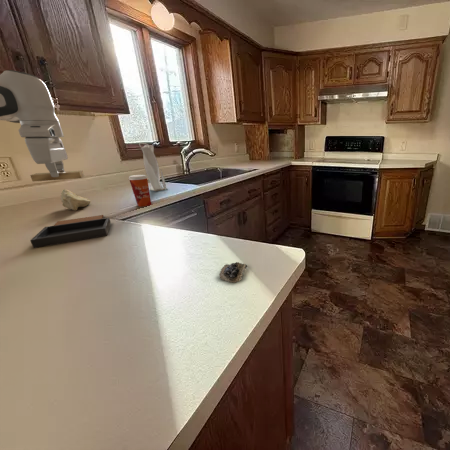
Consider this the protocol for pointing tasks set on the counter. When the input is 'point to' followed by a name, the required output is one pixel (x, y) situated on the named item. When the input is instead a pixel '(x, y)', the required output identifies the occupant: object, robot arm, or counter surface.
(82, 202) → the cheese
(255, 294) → the counter surface
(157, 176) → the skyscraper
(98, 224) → the tray
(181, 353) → the counter surface
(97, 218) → the brown flat block
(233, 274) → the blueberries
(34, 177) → the board
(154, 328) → the counter surface
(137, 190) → the paper cup
